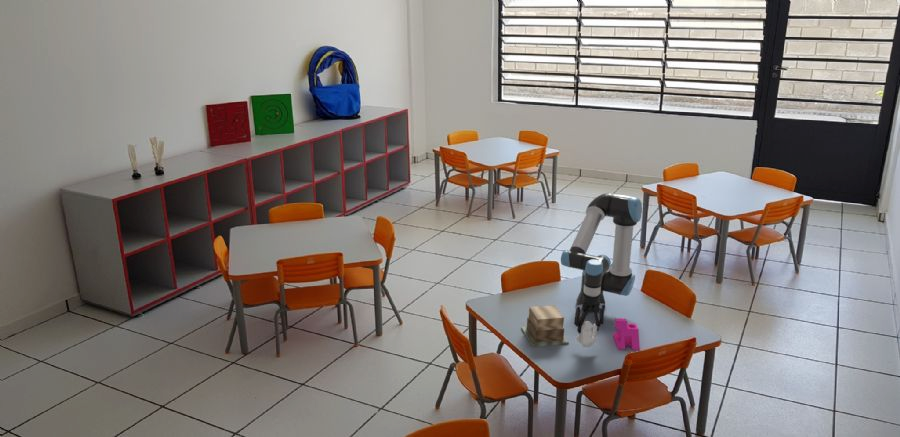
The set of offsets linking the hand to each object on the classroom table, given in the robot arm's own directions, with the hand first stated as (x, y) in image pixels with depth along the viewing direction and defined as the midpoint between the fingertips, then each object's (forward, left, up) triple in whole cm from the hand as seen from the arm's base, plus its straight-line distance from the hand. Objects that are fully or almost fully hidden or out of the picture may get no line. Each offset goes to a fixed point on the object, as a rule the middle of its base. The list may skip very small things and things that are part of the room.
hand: (587, 337), depth 331 cm
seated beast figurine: (0, 0, -3) cm, 3 cm away
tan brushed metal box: (+14, -18, -8) cm, 24 cm away
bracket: (-23, -5, -8) cm, 24 cm away
